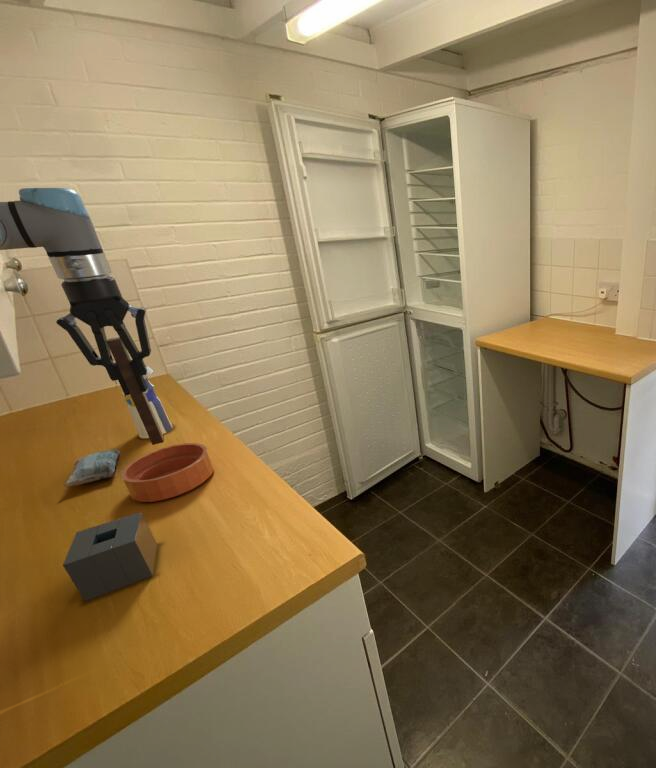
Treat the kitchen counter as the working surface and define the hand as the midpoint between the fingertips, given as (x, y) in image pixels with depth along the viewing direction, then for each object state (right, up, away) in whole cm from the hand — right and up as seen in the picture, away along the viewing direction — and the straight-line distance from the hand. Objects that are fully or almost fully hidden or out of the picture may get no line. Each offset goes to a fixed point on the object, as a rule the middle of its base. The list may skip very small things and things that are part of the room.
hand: (136, 391), depth 88 cm
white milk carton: (-23, -12, +32) cm, 42 cm away
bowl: (+1, -22, +9) cm, 23 cm away
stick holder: (+11, -32, -14) cm, 36 cm away
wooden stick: (0, -11, +5) cm, 12 cm away
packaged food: (-21, -21, +13) cm, 32 cm away
